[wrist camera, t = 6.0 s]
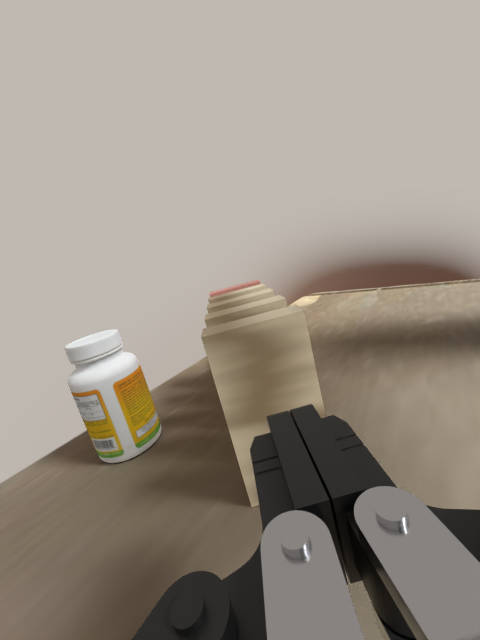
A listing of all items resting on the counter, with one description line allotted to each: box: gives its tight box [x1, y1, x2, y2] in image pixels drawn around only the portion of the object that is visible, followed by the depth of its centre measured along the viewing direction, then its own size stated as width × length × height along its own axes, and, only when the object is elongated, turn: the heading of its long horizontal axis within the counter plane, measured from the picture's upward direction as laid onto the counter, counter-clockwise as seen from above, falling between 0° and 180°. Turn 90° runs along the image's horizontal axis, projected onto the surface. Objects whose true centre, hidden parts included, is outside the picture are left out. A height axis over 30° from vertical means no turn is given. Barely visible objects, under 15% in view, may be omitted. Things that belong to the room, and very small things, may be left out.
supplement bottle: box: [65, 329, 162, 463], centre depth 25 cm, size 5×5×10 cm
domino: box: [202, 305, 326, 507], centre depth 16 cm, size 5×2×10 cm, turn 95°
